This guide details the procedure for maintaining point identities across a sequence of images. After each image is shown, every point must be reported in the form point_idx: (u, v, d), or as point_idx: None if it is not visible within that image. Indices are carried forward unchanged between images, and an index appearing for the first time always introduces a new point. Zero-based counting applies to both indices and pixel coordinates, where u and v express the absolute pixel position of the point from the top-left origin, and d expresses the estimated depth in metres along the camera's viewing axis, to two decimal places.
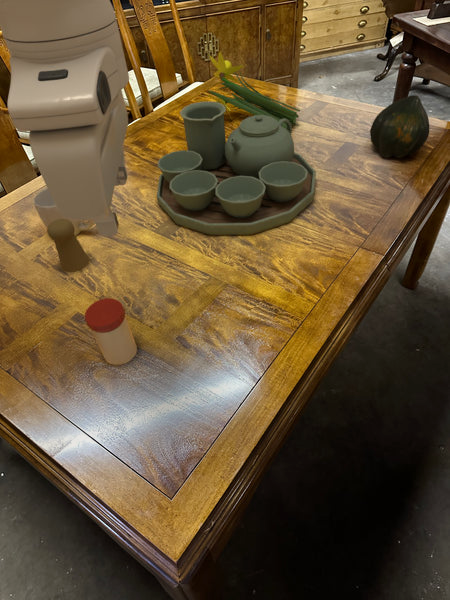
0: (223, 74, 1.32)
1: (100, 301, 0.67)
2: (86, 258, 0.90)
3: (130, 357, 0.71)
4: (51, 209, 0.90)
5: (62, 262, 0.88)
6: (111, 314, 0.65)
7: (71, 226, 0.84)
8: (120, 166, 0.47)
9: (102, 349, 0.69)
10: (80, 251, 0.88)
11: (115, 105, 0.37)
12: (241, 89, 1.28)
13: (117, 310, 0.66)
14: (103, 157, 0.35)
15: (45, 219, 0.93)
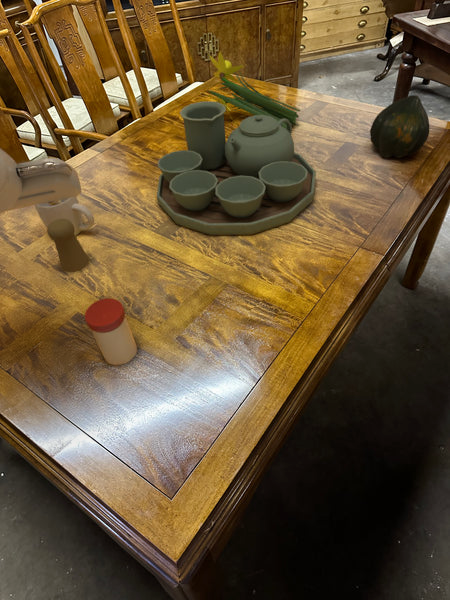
0: (223, 74, 1.32)
1: (100, 301, 0.67)
2: (86, 258, 0.90)
3: (130, 357, 0.71)
4: (51, 209, 0.90)
5: (62, 262, 0.88)
6: (111, 314, 0.65)
7: (71, 226, 0.84)
8: None
9: (102, 349, 0.69)
10: (80, 251, 0.88)
11: None
12: (241, 89, 1.28)
13: (117, 310, 0.66)
14: None
15: (45, 219, 0.93)
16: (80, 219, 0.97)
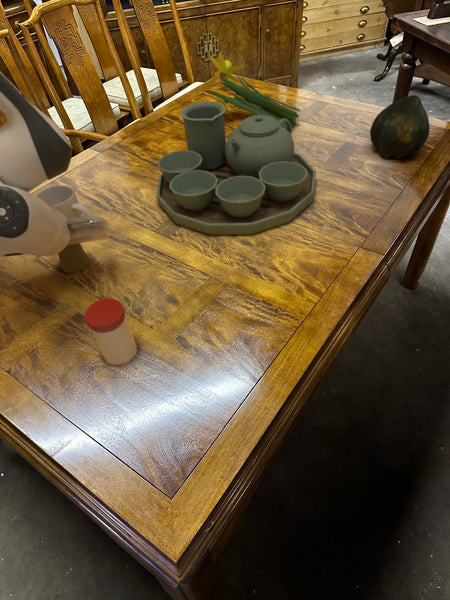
0: (223, 74, 1.32)
1: (100, 301, 0.67)
2: (86, 258, 0.90)
3: (130, 357, 0.71)
4: None
5: (62, 262, 0.88)
6: (111, 314, 0.65)
7: None
8: None
9: (102, 349, 0.69)
10: (80, 251, 0.88)
11: None
12: (241, 89, 1.28)
13: (117, 310, 0.66)
14: None
15: None
16: None
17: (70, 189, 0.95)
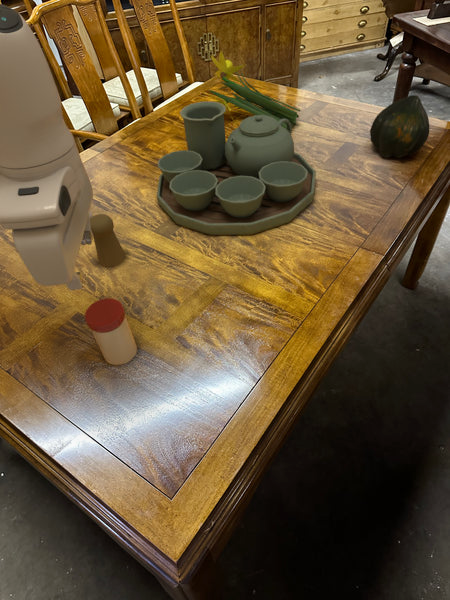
0: (224, 74, 1.32)
1: (100, 301, 0.67)
2: (123, 254, 0.90)
3: (130, 357, 0.71)
4: None
5: (100, 257, 0.88)
6: (111, 314, 0.65)
7: (111, 221, 0.84)
8: (87, 230, 0.60)
9: (102, 349, 0.69)
10: (118, 247, 0.88)
11: (77, 198, 0.50)
12: (242, 89, 1.28)
13: (117, 310, 0.66)
14: (67, 239, 0.49)
15: None
16: None
17: None
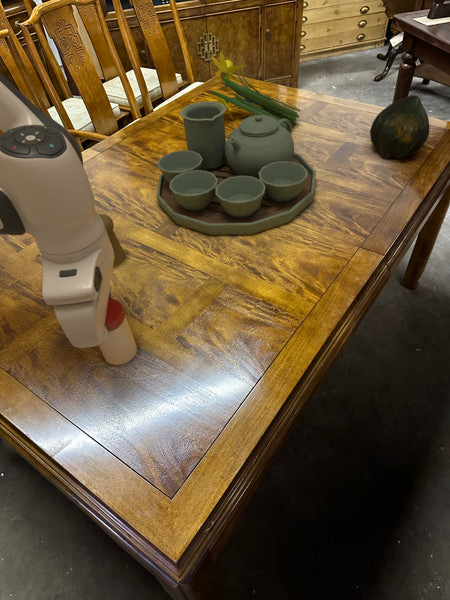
0: (224, 74, 1.32)
1: None
2: (123, 254, 0.90)
3: (130, 357, 0.71)
4: None
5: None
6: (111, 314, 0.65)
7: (111, 221, 0.84)
8: (108, 292, 0.68)
9: (102, 349, 0.69)
10: (118, 247, 0.88)
11: None
12: (242, 89, 1.28)
13: (117, 310, 0.66)
14: (98, 306, 0.57)
15: None
16: None
17: None
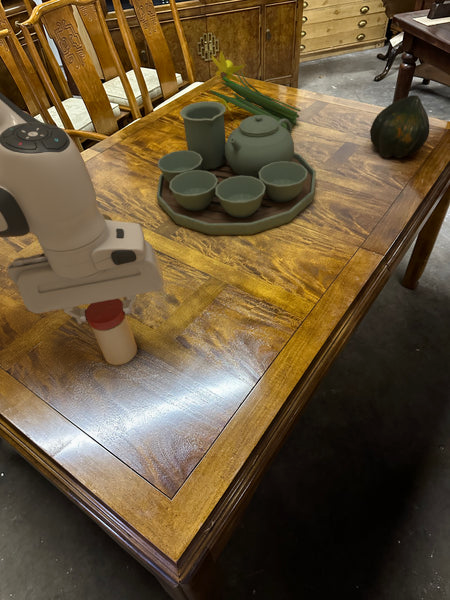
0: (224, 74, 1.32)
1: (88, 315, 0.65)
2: None
3: (130, 356, 0.71)
4: None
5: None
6: (109, 302, 0.67)
7: None
8: (79, 310, 0.65)
9: (102, 348, 0.69)
10: None
11: None
12: (242, 89, 1.28)
13: None
14: None
15: None
16: None
17: None
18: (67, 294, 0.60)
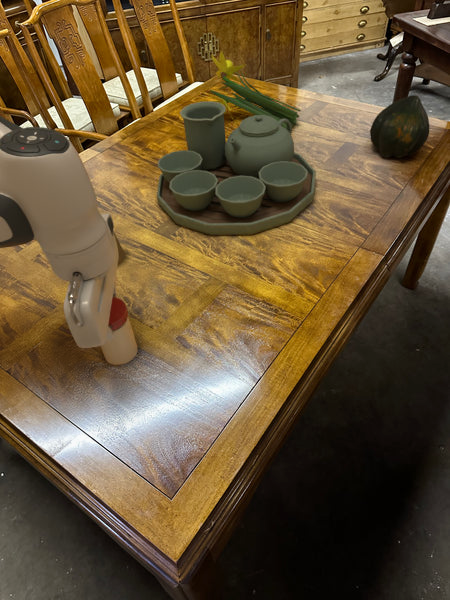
0: (224, 74, 1.32)
1: (110, 322, 0.64)
2: (123, 254, 0.90)
3: (131, 357, 0.71)
4: None
5: None
6: None
7: None
8: None
9: (104, 349, 0.68)
10: (118, 247, 0.88)
11: None
12: (242, 89, 1.28)
13: None
14: None
15: None
16: None
17: None
18: (105, 301, 0.59)
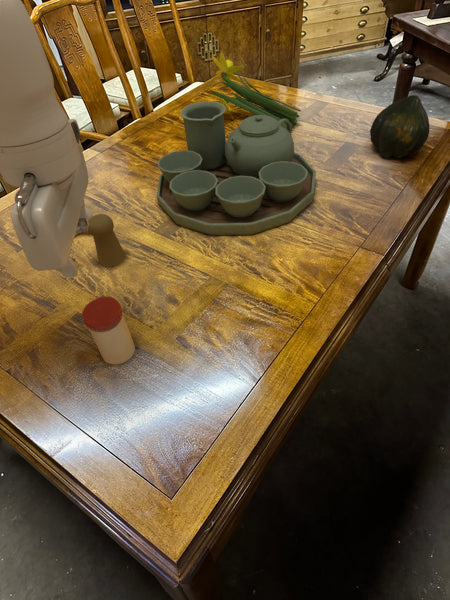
0: (225, 73, 1.32)
1: (105, 320, 0.64)
2: (123, 254, 0.90)
3: (128, 356, 0.71)
4: None
5: (100, 257, 0.88)
6: (93, 307, 0.66)
7: (111, 221, 0.84)
8: None
9: (100, 349, 0.69)
10: (118, 247, 0.88)
11: None
12: (242, 89, 1.28)
13: (87, 311, 0.65)
14: None
15: None
16: None
17: None
18: (67, 218, 0.49)
